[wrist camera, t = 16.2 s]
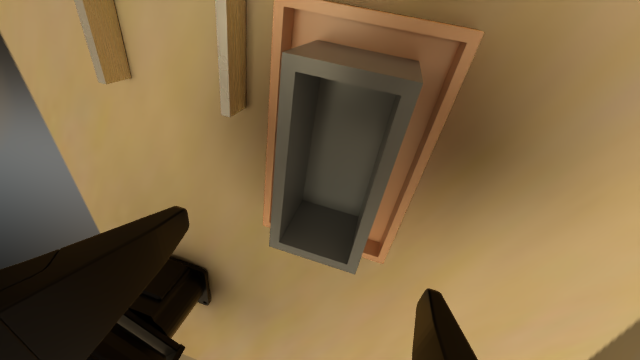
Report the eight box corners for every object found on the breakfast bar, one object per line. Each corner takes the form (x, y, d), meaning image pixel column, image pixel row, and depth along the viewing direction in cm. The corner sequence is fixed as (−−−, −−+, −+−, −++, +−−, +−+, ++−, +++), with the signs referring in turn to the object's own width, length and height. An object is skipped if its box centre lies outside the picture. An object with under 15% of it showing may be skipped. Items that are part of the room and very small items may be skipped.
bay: (245, 107, 18) (229, 117, 17) (124, 76, 20) (98, 82, 18) (245, -41, 14) (224, -48, 12) (89, -69, 15) (50, -78, 14)
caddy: (365, 220, 20) (355, 274, 16) (296, 199, 21) (269, 246, 17) (419, 61, 14) (423, 83, 10) (317, 39, 15) (282, 51, 11)
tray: (385, 244, 21) (382, 264, 20) (273, 209, 23) (262, 225, 21) (475, 29, 13) (484, 31, 11) (289, -7, 14) (274, -9, 13)
